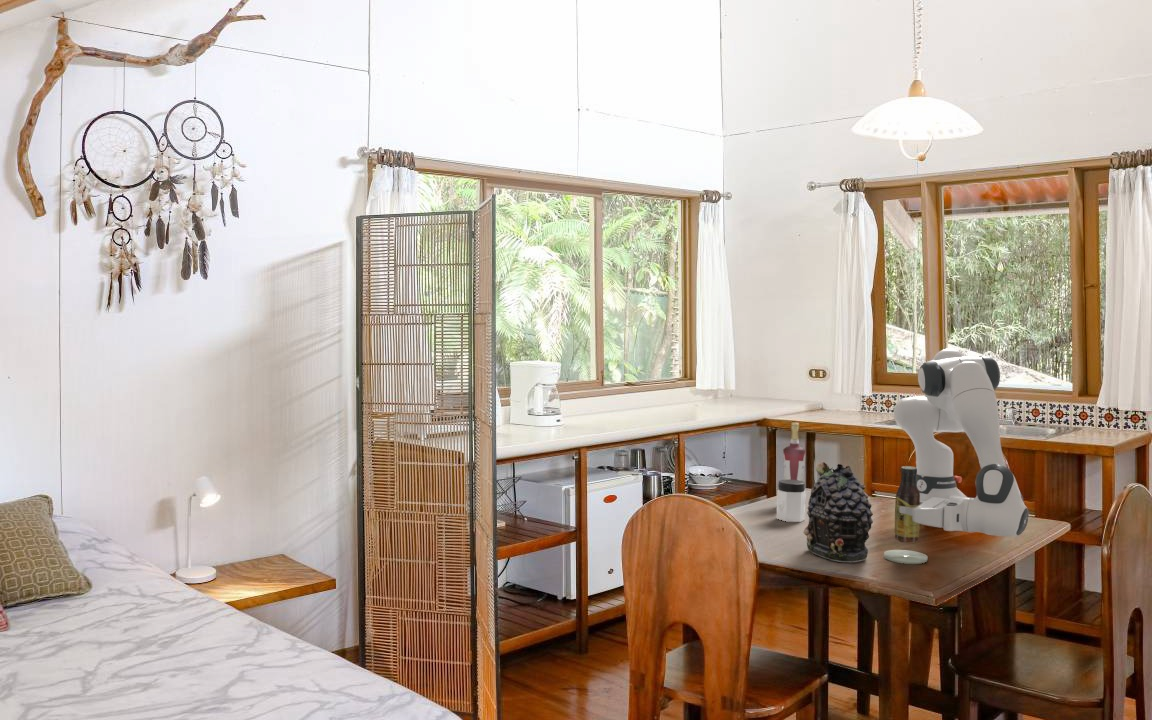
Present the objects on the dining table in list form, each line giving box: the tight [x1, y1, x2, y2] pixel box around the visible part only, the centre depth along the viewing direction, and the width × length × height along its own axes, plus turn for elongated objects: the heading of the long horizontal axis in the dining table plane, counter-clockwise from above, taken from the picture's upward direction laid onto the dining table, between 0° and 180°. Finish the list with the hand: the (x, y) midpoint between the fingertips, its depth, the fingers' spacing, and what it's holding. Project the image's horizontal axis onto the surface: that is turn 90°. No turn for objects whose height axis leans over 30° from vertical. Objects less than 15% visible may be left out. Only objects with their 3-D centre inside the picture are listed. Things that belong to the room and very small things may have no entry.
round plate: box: [883, 549, 928, 565], centre depth 256 cm, size 11×11×1 cm
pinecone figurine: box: [802, 461, 874, 563], centre depth 257 cm, size 21×15×25 cm
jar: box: [776, 479, 807, 523], centre depth 301 cm, size 9×8×12 cm
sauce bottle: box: [894, 465, 920, 543], centre depth 255 cm, size 6×6×20 cm
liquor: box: [782, 422, 806, 482], centre depth 323 cm, size 7×7×28 cm
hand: (903, 506), depth 256 cm, fingers closed on sauce bottle, 6 cm apart
